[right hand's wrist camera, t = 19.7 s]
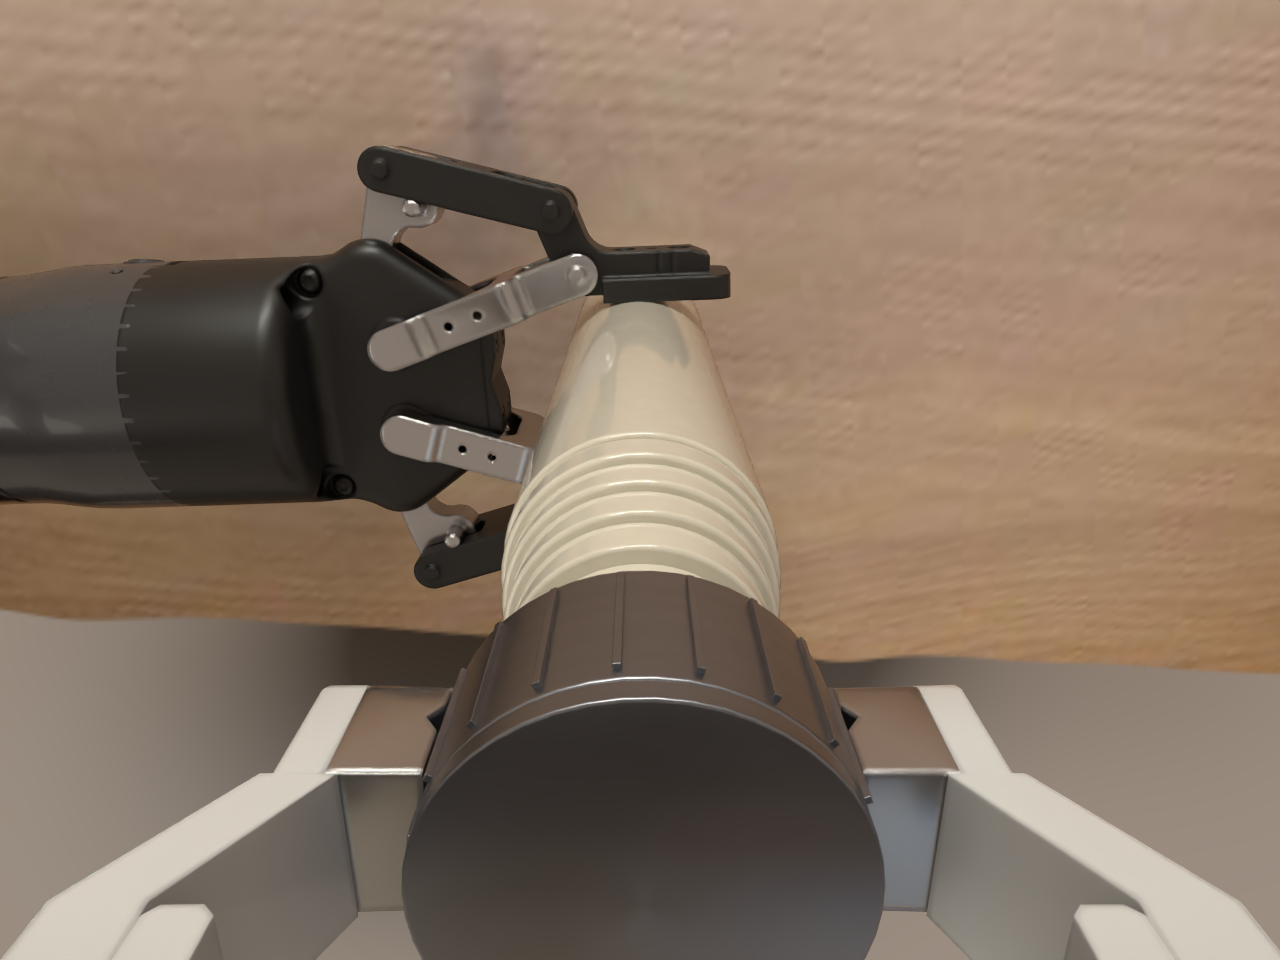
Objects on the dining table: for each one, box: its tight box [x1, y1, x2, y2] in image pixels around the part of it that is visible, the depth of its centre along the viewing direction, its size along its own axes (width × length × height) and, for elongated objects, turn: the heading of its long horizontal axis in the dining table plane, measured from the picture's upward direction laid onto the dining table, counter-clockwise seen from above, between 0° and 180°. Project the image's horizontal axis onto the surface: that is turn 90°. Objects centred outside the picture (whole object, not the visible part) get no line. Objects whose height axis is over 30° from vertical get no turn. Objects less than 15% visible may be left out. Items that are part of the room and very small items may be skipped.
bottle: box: [501, 295, 781, 621], centre depth 21 cm, size 5×5×26 cm
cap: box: [402, 571, 885, 960], centre depth 9 cm, size 4×4×2 cm
